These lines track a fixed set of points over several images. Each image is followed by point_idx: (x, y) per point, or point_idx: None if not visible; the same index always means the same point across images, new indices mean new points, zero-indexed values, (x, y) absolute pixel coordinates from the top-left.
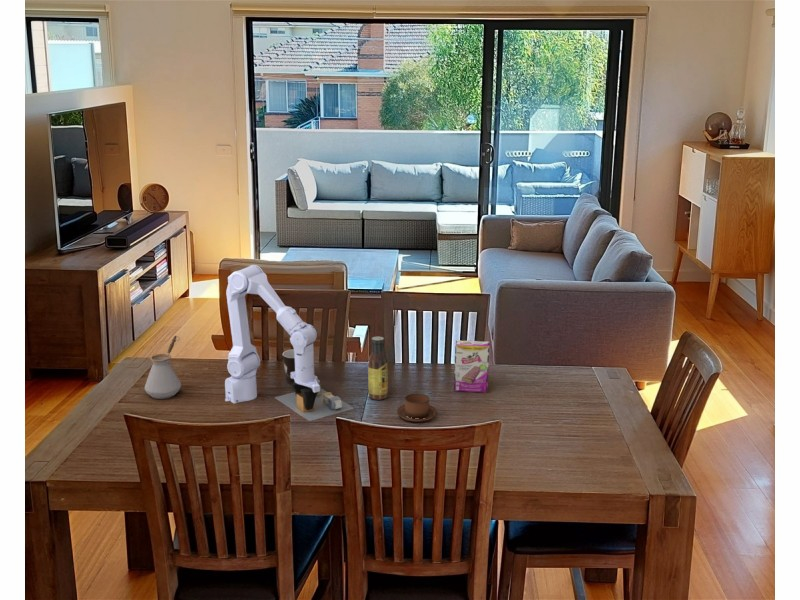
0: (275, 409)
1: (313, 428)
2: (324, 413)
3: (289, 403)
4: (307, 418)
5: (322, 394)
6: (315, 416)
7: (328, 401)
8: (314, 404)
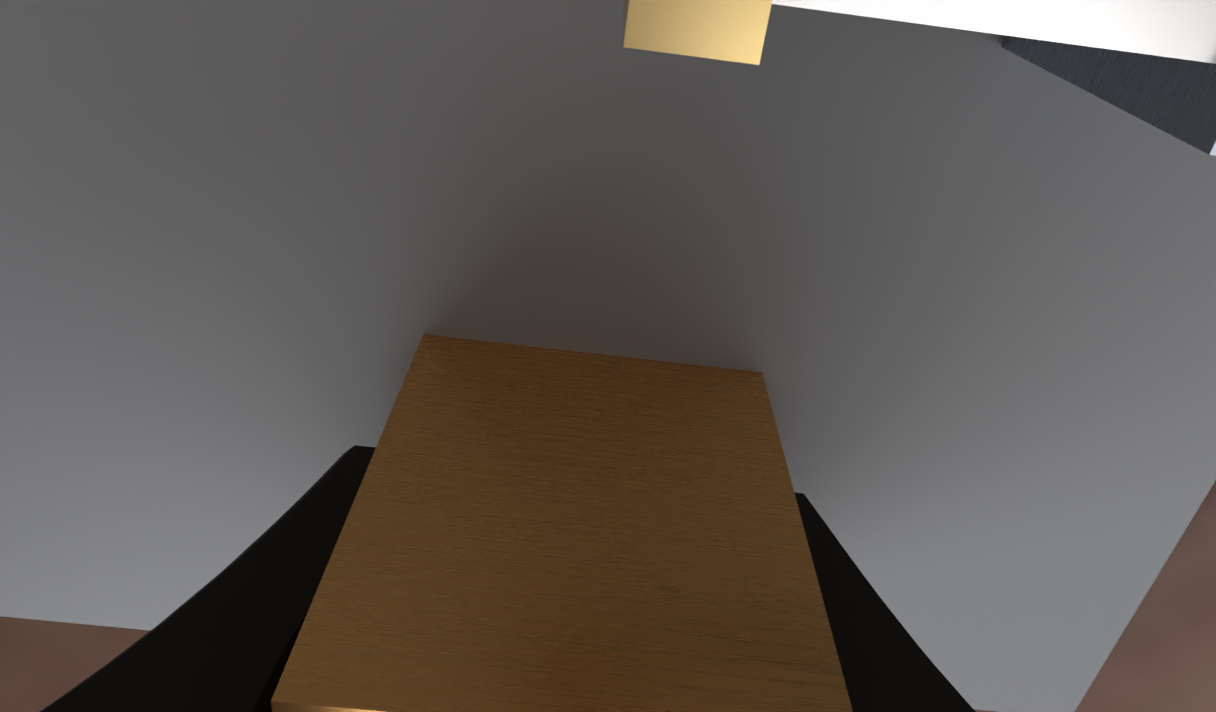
0: (60, 646)
1: (1161, 647)
2: (1123, 334)
3: (59, 542)
4: (963, 685)
5: (630, 42)
6: (1039, 553)
7: (1152, 113)
8: (788, 476)
